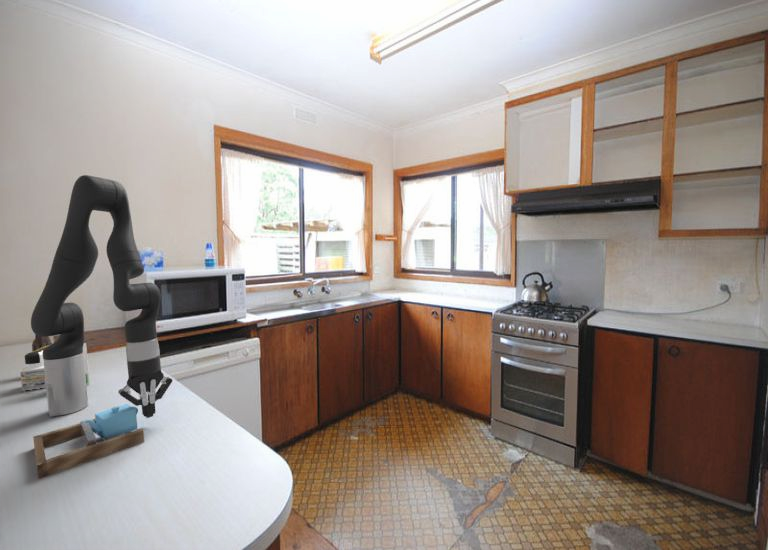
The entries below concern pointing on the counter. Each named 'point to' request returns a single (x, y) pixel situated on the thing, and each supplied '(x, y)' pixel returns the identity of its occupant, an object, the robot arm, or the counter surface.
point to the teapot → (115, 421)
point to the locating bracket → (81, 454)
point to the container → (33, 371)
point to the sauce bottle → (40, 343)
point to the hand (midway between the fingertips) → (149, 416)
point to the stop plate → (87, 434)
